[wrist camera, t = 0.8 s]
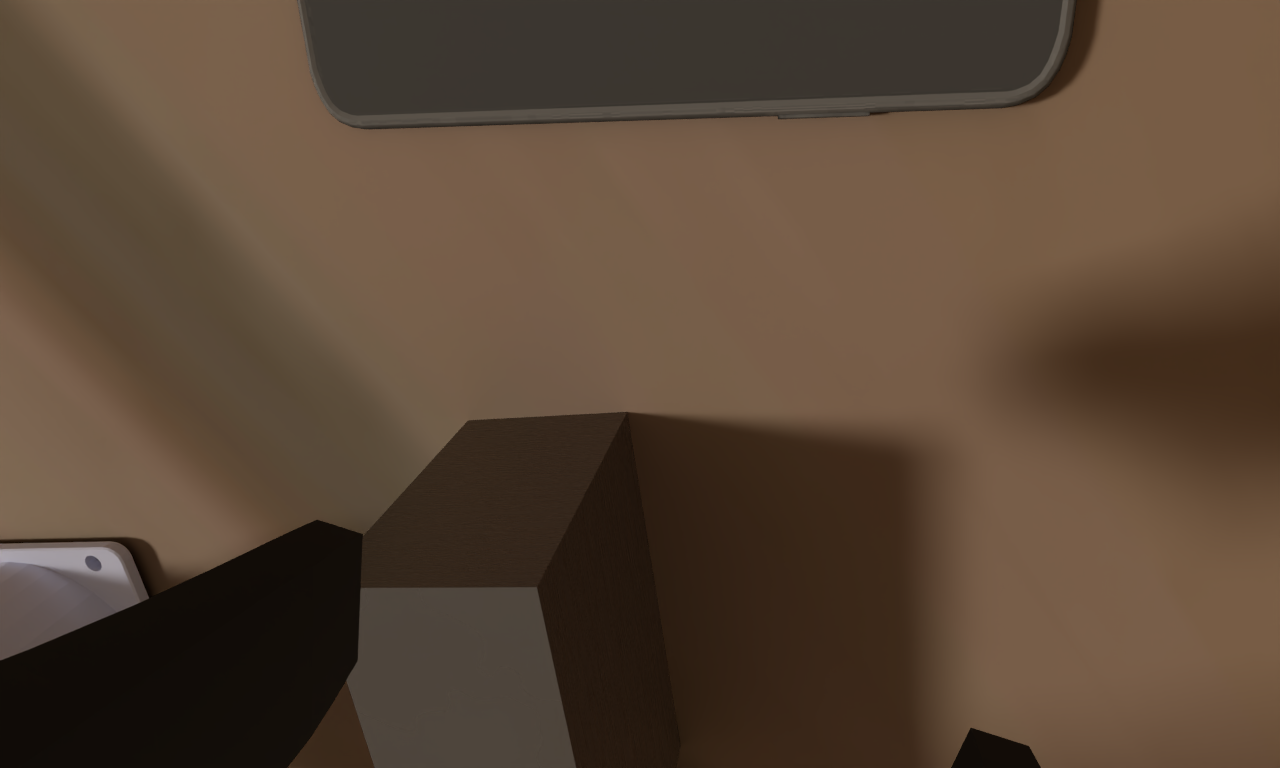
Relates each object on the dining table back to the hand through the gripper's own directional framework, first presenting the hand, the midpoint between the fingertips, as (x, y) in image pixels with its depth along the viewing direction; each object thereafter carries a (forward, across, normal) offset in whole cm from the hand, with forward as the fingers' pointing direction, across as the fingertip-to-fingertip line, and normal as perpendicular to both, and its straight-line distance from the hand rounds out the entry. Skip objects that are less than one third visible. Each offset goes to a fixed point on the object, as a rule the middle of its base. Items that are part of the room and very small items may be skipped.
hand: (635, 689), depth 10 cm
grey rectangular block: (+10, +3, +7) cm, 13 cm away
